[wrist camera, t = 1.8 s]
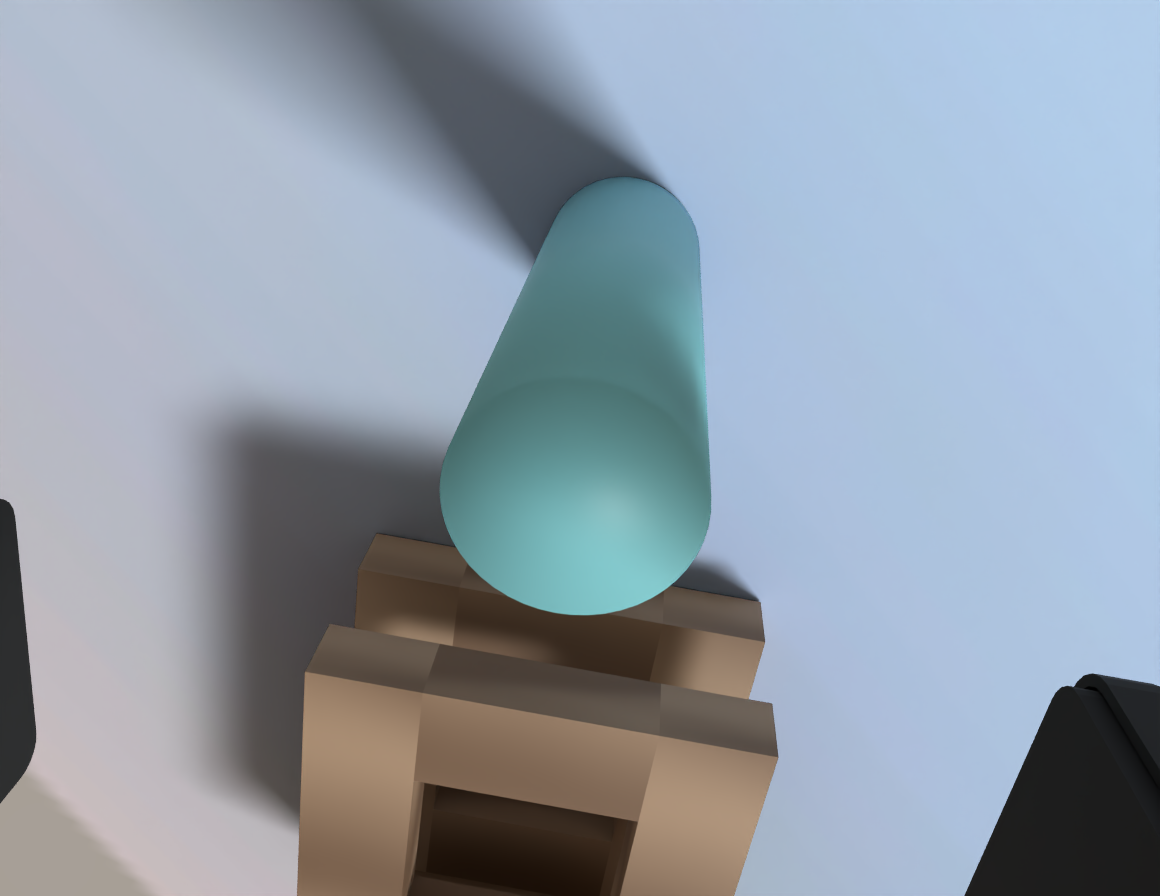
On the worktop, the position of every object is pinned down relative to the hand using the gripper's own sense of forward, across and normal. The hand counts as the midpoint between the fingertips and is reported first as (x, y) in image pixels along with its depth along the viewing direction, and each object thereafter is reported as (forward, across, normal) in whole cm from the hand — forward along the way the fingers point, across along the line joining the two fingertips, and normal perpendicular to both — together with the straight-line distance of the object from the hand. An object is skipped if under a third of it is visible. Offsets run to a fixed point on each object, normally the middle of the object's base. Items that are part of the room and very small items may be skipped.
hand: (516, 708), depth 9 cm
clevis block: (+13, 0, +11) cm, 17 cm away
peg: (+13, 0, -1) cm, 13 cm away
